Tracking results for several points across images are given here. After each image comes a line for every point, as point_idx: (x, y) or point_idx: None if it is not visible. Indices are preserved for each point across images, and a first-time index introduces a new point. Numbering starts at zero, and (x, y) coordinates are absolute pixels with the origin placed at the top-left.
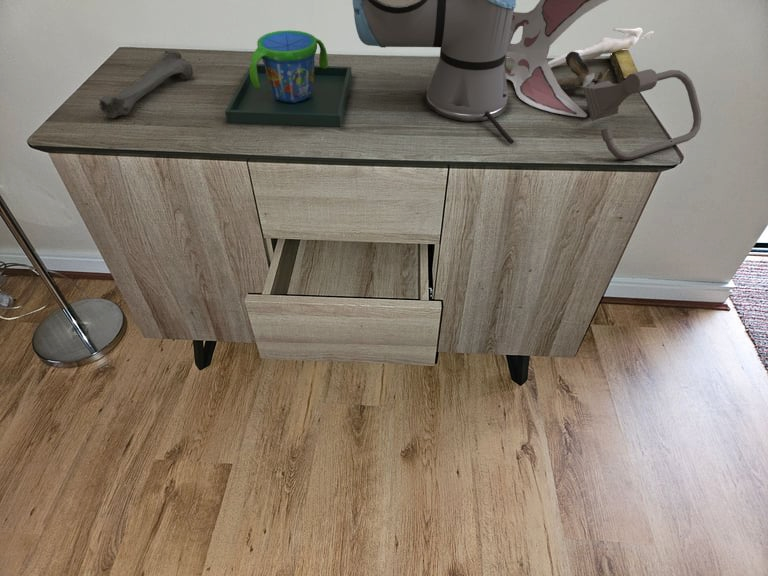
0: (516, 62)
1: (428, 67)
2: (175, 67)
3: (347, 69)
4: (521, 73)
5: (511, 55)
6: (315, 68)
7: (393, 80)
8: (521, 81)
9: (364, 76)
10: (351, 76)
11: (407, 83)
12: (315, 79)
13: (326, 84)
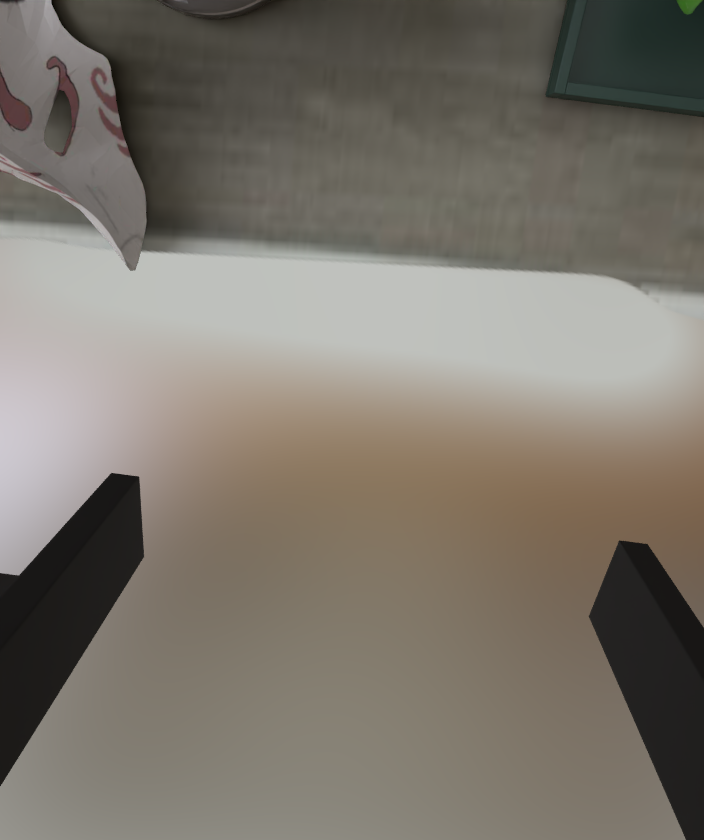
0: (36, 131)
1: (302, 168)
2: None
3: (570, 68)
4: (24, 60)
5: (47, 157)
6: (669, 96)
7: (417, 68)
8: (26, 12)
9: (503, 105)
10: (547, 91)
11: (377, 42)
12: (669, 58)
13: (641, 13)
